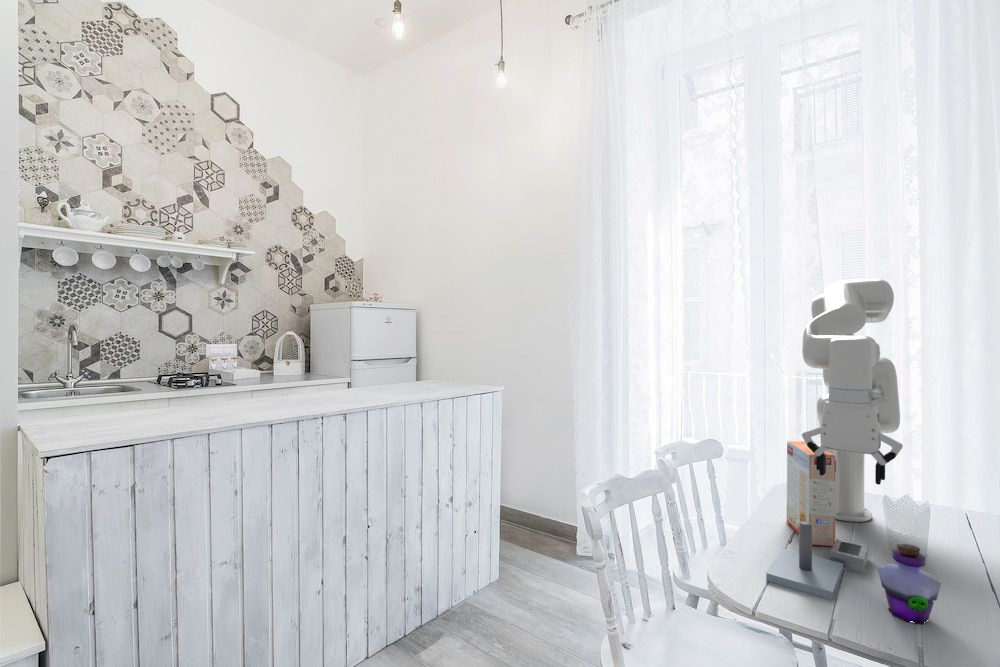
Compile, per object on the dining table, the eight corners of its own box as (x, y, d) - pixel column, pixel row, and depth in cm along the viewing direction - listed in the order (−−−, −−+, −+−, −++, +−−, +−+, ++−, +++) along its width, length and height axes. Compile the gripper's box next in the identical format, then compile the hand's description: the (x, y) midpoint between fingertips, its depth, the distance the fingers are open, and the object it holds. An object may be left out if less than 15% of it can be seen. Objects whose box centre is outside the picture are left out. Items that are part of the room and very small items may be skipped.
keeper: (782, 555, 110) (782, 507, 110) (843, 570, 103) (843, 519, 103) (766, 580, 99) (766, 527, 99) (832, 600, 92) (832, 543, 92)
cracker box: (837, 548, 113) (837, 455, 113) (807, 546, 114) (807, 454, 114) (812, 523, 127) (812, 440, 126) (785, 521, 128) (785, 439, 127)
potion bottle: (905, 631, 83) (906, 558, 83) (864, 602, 92) (865, 536, 91) (955, 628, 83) (956, 557, 83) (910, 600, 92) (910, 534, 92)
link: (836, 551, 111) (836, 538, 111) (867, 559, 107) (868, 545, 107) (830, 565, 105) (830, 551, 105) (863, 574, 101) (863, 559, 101)
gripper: (903, 398, 103) (903, 482, 103) (805, 391, 114) (805, 467, 114) (901, 402, 97) (901, 491, 97) (798, 395, 108) (798, 474, 109)
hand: (849, 478), depth 106 cm, fingers open, 9 cm apart
